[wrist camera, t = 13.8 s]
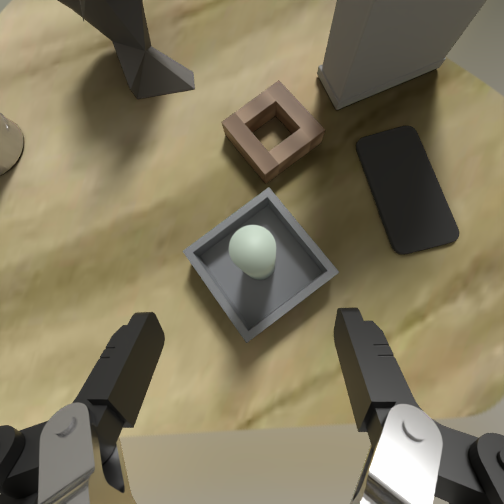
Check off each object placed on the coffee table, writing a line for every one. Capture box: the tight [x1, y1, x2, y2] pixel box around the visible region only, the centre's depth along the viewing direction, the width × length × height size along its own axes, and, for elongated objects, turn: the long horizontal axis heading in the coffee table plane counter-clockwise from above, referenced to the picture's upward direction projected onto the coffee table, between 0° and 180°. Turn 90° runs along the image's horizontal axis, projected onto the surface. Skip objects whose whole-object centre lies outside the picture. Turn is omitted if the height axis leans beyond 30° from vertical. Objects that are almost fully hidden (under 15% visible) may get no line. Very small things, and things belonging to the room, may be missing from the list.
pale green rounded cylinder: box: [229, 225, 276, 280], centre depth 23 cm, size 4×4×10 cm
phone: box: [356, 126, 459, 254], centre depth 29 cm, size 7×1×15 cm
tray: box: [183, 187, 339, 343], centre depth 27 cm, size 12×12×4 cm
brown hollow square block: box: [222, 81, 325, 184], centre depth 30 cm, size 9×9×2 cm
